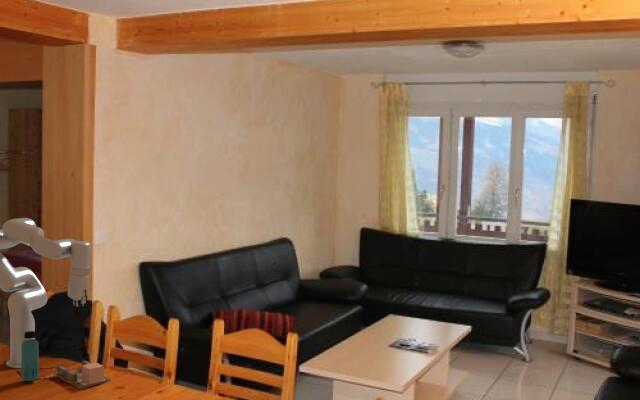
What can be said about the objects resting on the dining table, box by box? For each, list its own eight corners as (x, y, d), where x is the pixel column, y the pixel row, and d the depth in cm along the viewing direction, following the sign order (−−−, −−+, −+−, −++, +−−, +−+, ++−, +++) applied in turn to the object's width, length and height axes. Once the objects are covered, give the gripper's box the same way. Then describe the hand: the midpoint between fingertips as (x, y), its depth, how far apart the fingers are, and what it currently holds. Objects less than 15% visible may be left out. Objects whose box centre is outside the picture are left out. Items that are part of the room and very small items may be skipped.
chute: (56, 376, 270) (56, 366, 270) (86, 369, 280) (86, 360, 279) (79, 389, 256) (79, 378, 256) (110, 381, 266) (110, 371, 266)
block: (81, 380, 262) (82, 365, 262) (96, 377, 267) (96, 362, 266) (89, 384, 258) (89, 369, 258) (103, 381, 263) (103, 366, 262)
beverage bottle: (32, 385, 259) (32, 334, 258) (17, 383, 260) (17, 333, 259) (42, 380, 265) (42, 330, 264) (27, 378, 266) (27, 329, 265)
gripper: (63, 269, 277) (61, 312, 278) (79, 275, 266) (76, 320, 268) (80, 267, 282) (78, 310, 283) (96, 274, 271) (94, 318, 273)
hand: (77, 315), depth 275 cm, fingers closed
